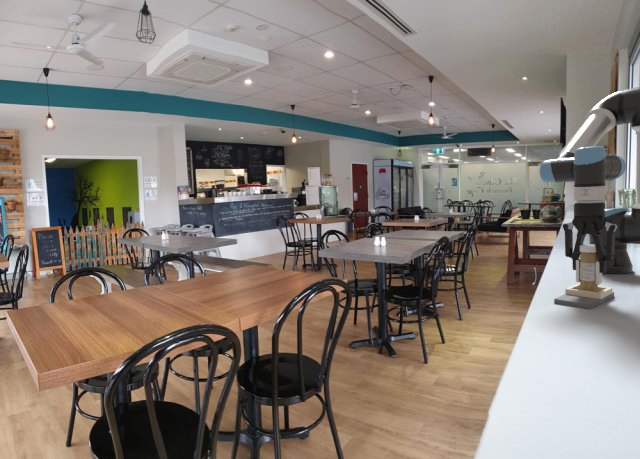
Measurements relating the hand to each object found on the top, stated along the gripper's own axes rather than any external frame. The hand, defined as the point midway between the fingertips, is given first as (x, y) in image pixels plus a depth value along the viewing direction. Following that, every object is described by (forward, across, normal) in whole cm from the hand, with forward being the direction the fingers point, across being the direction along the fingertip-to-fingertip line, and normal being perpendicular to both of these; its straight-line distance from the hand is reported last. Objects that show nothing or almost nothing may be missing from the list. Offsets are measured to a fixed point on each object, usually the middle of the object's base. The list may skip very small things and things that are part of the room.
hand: (588, 282), depth 121 cm
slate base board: (+4, 0, -3) cm, 5 cm away
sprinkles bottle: (+3, 0, 0) cm, 3 cm away
